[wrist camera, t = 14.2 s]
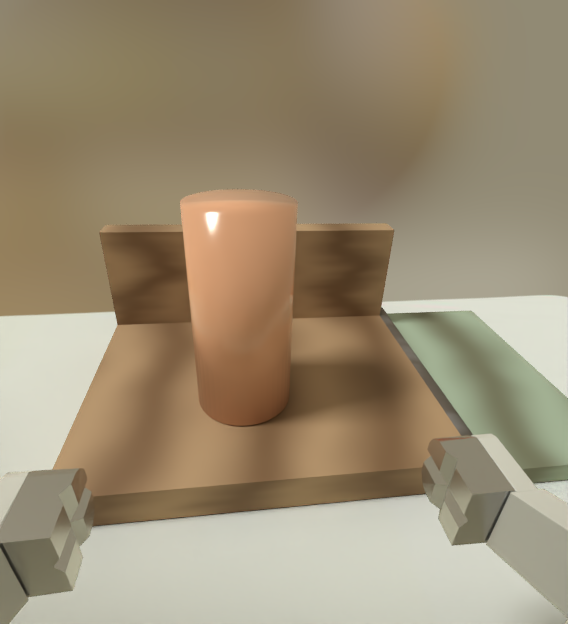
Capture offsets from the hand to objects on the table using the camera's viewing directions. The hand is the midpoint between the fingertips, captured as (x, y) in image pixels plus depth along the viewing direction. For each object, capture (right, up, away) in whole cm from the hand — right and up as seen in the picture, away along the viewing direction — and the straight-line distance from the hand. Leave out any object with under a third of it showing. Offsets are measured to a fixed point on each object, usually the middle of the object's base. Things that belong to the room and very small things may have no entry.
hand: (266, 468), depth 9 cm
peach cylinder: (-2, -1, +14) cm, 14 cm away
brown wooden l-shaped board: (+3, -2, +17) cm, 17 cm away
